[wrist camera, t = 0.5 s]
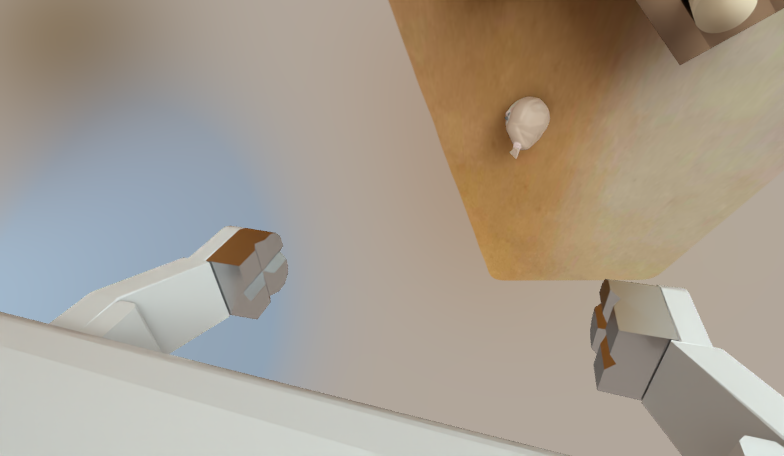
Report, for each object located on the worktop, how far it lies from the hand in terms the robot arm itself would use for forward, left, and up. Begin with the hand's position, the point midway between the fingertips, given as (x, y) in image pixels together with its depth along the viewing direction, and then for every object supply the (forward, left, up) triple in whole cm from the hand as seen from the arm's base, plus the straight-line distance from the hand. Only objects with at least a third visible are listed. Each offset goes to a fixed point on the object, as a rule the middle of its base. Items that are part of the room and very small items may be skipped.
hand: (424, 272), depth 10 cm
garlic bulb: (+19, +21, -49) cm, 57 cm away
